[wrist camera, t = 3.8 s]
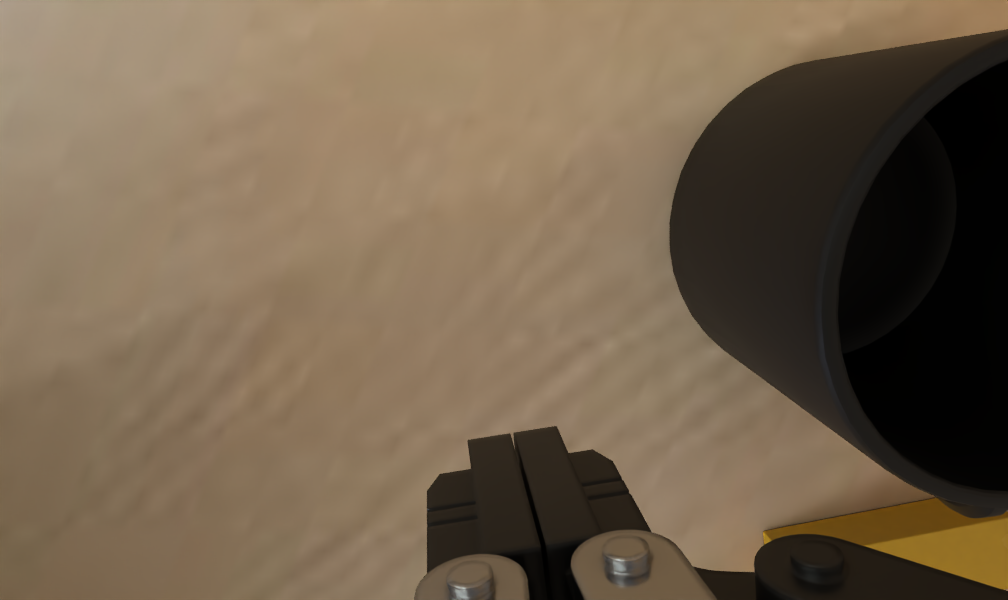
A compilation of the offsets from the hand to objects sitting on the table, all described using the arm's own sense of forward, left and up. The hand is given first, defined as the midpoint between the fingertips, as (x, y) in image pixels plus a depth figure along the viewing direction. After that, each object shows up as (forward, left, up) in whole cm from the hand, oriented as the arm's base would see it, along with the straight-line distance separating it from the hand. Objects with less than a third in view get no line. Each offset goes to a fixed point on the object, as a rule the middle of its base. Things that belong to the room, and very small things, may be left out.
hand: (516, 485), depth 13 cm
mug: (+11, 0, -11) cm, 15 cm away
